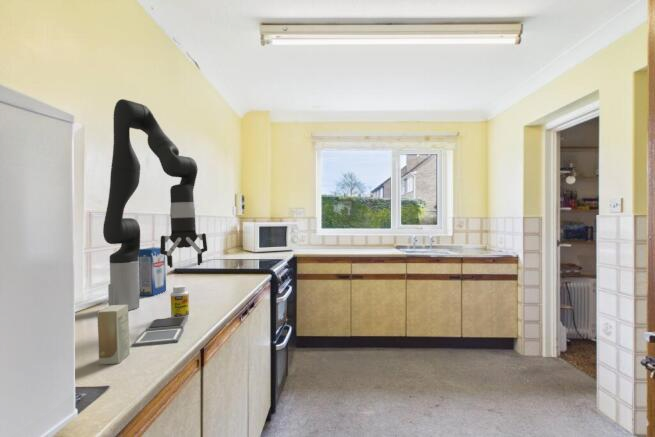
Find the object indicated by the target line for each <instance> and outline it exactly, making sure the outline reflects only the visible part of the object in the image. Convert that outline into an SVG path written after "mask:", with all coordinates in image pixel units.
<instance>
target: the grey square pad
mask: <svg viewBox="0 0 655 437" xmlns="http://www.w3.org/2000/svg"><path fill="white" fill-rule="evenodd" d="M184 331H185V329H184V328H183V329H169V330H157V331H146V330H145V331H142V332H141V333H140V335H139V336H138V337H137V338H136V340H134V341H133V343H132V346H131V347H140V346H151V345H152V346H153V345H160V344H162V345H163V344H172V343H179V340H180V338H181V337H182V334H183V333H184Z"/></svg>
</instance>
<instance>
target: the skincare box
mask: <svg viewBox="0 0 655 437" xmlns="http://www.w3.org/2000/svg"><path fill="white" fill-rule="evenodd" d="M129 322H130V321H129V310H128V305H110V306H109V305H108V306H106V307H104V308H103V309H101V310H99V311H97V331H98V332H97V336H98V337H97V339H98V341H97V342H98V360H99V361H98V362H99V364H98V365H117V364H119V363H122V361H123V360H124V359H126V358H127V357H128V356H129V355H130V350H131V348H130V325H129V324H130V323H129Z"/></svg>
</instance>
